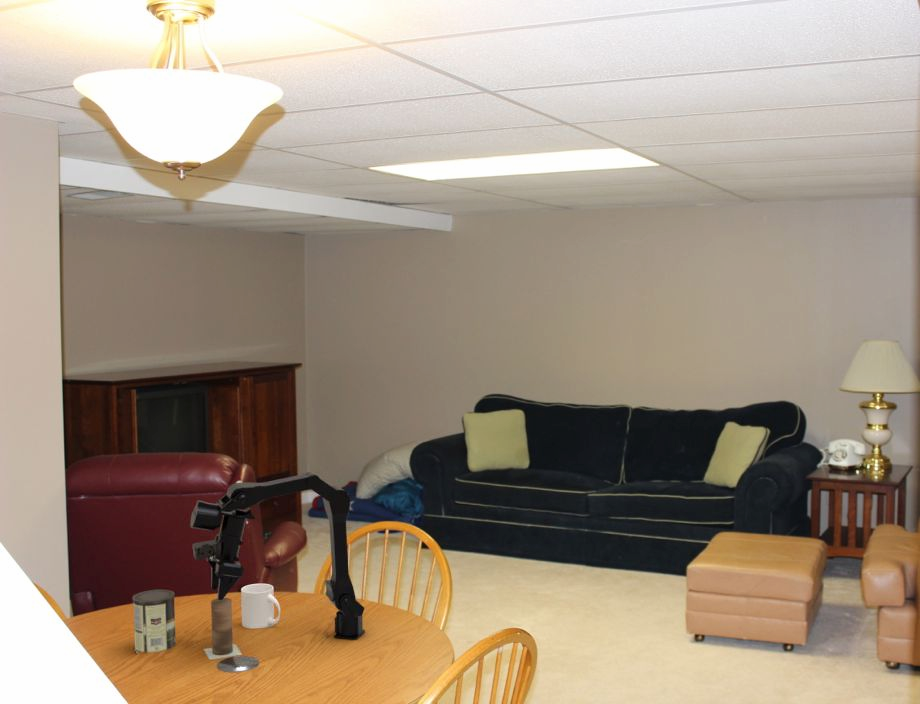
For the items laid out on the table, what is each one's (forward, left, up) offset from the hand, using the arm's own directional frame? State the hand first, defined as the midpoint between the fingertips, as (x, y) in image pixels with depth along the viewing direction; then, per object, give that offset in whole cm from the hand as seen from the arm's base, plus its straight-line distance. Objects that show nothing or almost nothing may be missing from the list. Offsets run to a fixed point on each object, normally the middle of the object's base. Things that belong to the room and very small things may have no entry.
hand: (216, 594), depth 254 cm
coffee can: (+18, +1, -16) cm, 24 cm away
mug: (-1, -21, -16) cm, 26 cm away
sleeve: (-1, 0, -14) cm, 14 cm away
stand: (-1, 0, -15) cm, 16 cm away
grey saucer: (-9, +7, -15) cm, 19 cm away
